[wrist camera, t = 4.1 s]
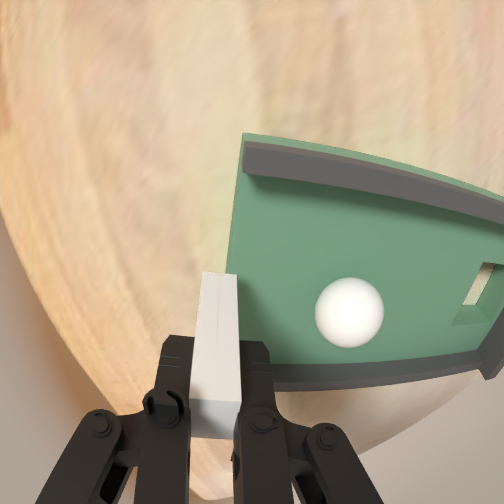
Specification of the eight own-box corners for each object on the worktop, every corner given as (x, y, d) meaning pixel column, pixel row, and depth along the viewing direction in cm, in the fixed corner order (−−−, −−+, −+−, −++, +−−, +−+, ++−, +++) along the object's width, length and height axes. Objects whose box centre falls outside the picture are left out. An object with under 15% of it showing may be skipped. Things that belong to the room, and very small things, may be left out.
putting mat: (242, 132, 14) (248, 155, 9) (540, 213, 17) (581, 243, 12) (218, 343, 21) (217, 409, 16) (479, 336, 24) (505, 374, 19)
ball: (317, 261, 15) (337, 306, 12) (378, 266, 15) (406, 308, 12) (301, 315, 17) (314, 363, 14) (357, 316, 17) (377, 360, 14)
